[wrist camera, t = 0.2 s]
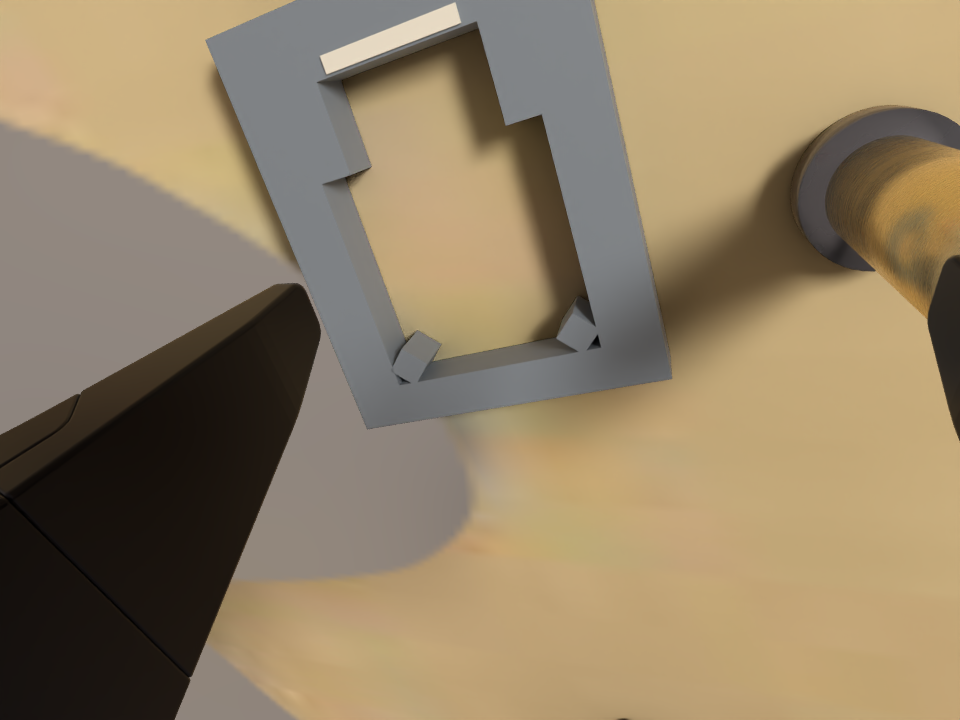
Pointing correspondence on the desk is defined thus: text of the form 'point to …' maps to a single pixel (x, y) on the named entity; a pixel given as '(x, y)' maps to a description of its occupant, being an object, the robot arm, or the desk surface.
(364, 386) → the square frame
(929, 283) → the brass peg
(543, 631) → the desk surface
